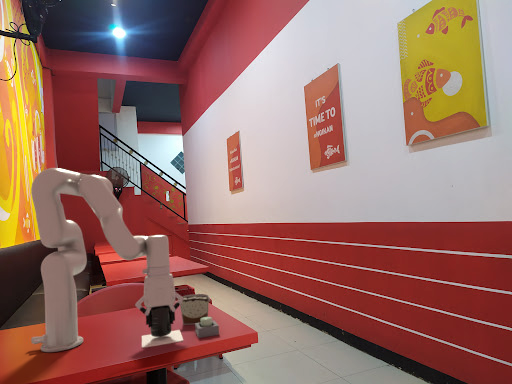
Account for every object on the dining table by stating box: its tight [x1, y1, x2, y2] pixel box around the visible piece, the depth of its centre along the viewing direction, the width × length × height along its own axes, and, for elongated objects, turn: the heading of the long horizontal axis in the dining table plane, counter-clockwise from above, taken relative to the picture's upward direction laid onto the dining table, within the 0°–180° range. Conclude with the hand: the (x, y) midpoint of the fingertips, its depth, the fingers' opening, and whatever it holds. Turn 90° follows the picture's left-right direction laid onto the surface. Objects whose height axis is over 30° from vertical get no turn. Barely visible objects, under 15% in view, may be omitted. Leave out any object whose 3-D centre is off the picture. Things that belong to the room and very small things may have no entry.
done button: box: [200, 316, 213, 327], centre depth 125 cm, size 4×4×3 cm
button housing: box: [194, 319, 220, 339], centre depth 124 cm, size 7×7×3 cm
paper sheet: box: [141, 329, 184, 349], centre depth 122 cm, size 13×12×1 cm
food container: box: [179, 293, 211, 326], centre depth 140 cm, size 12×6×10 cm, turn 84°
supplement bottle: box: [150, 305, 172, 337], centre depth 122 cm, size 7×7×12 cm
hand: (160, 324), depth 122 cm, fingers closed on supplement bottle, 6 cm apart
